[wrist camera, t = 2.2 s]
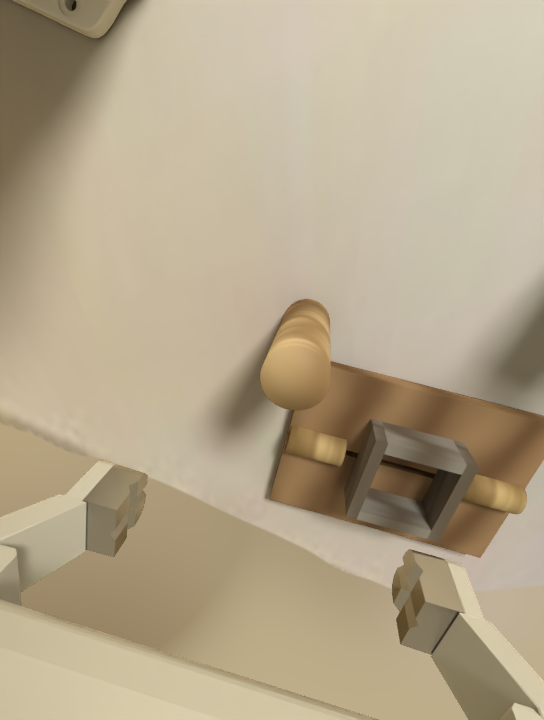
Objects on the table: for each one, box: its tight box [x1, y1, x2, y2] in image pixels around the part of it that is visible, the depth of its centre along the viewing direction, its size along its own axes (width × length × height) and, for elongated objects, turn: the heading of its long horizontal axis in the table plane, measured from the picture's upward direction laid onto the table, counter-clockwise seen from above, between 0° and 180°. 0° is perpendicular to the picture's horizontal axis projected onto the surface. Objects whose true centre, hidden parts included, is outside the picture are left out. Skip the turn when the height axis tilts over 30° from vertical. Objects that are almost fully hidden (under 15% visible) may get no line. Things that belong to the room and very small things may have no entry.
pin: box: [260, 299, 331, 411], centre depth 26 cm, size 4×4×12 cm
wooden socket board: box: [270, 361, 544, 558], centre depth 33 cm, size 22×16×5 cm
